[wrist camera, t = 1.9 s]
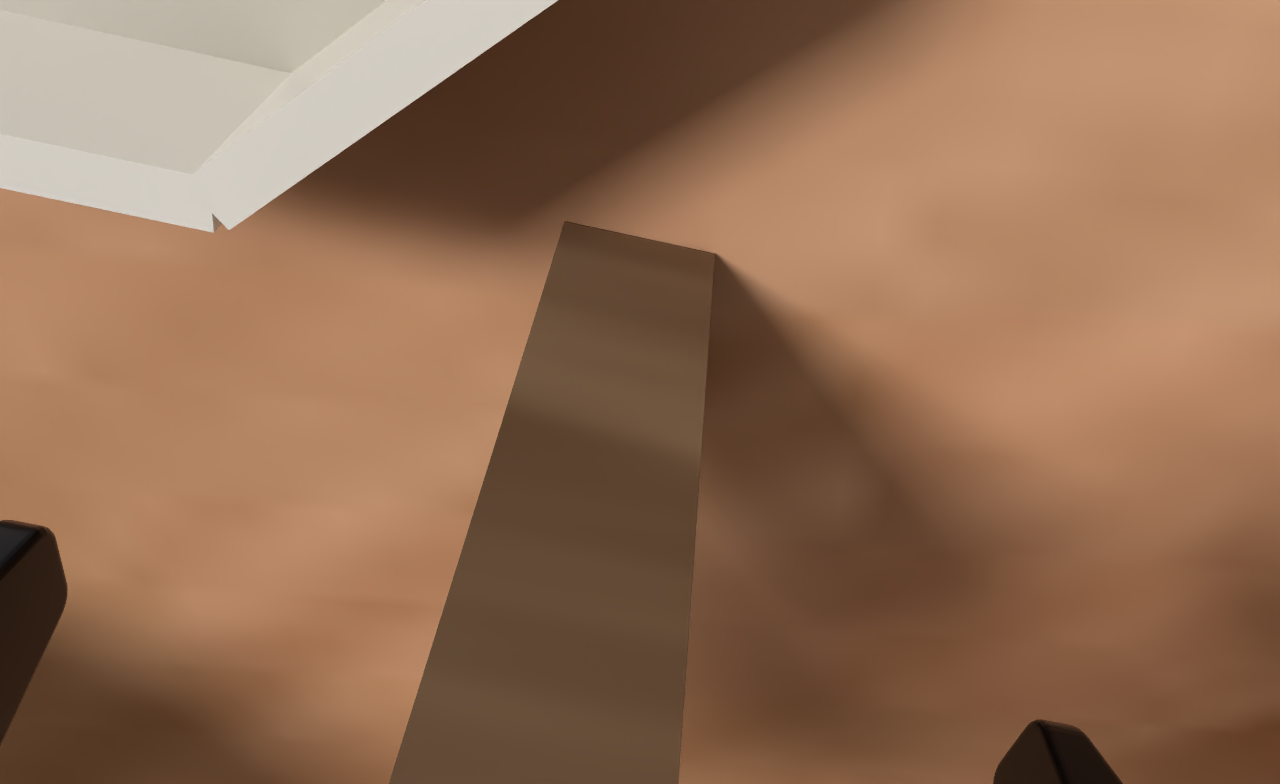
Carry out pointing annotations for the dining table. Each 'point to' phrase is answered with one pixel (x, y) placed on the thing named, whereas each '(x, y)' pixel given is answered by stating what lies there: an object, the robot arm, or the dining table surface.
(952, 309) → the dining table surface
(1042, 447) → the dining table surface
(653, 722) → the tall wooden post
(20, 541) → the robot arm
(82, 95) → the octagonal white tray
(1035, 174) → the dining table surface
